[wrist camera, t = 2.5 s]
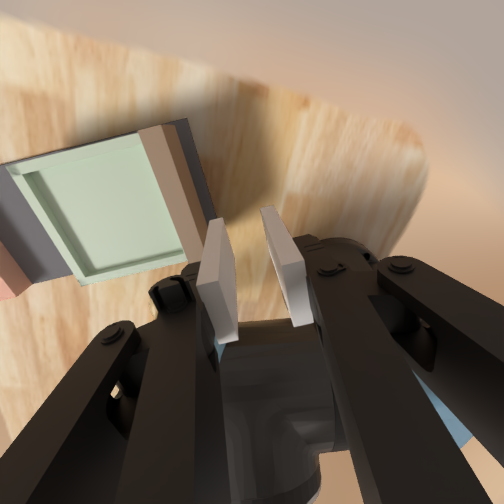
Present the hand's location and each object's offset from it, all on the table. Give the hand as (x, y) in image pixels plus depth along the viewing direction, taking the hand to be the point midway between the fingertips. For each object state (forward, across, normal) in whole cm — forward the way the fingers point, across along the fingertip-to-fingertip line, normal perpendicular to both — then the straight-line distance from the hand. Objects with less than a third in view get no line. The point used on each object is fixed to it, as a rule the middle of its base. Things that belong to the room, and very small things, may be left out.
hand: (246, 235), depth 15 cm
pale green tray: (+19, +13, 0) cm, 23 cm away
